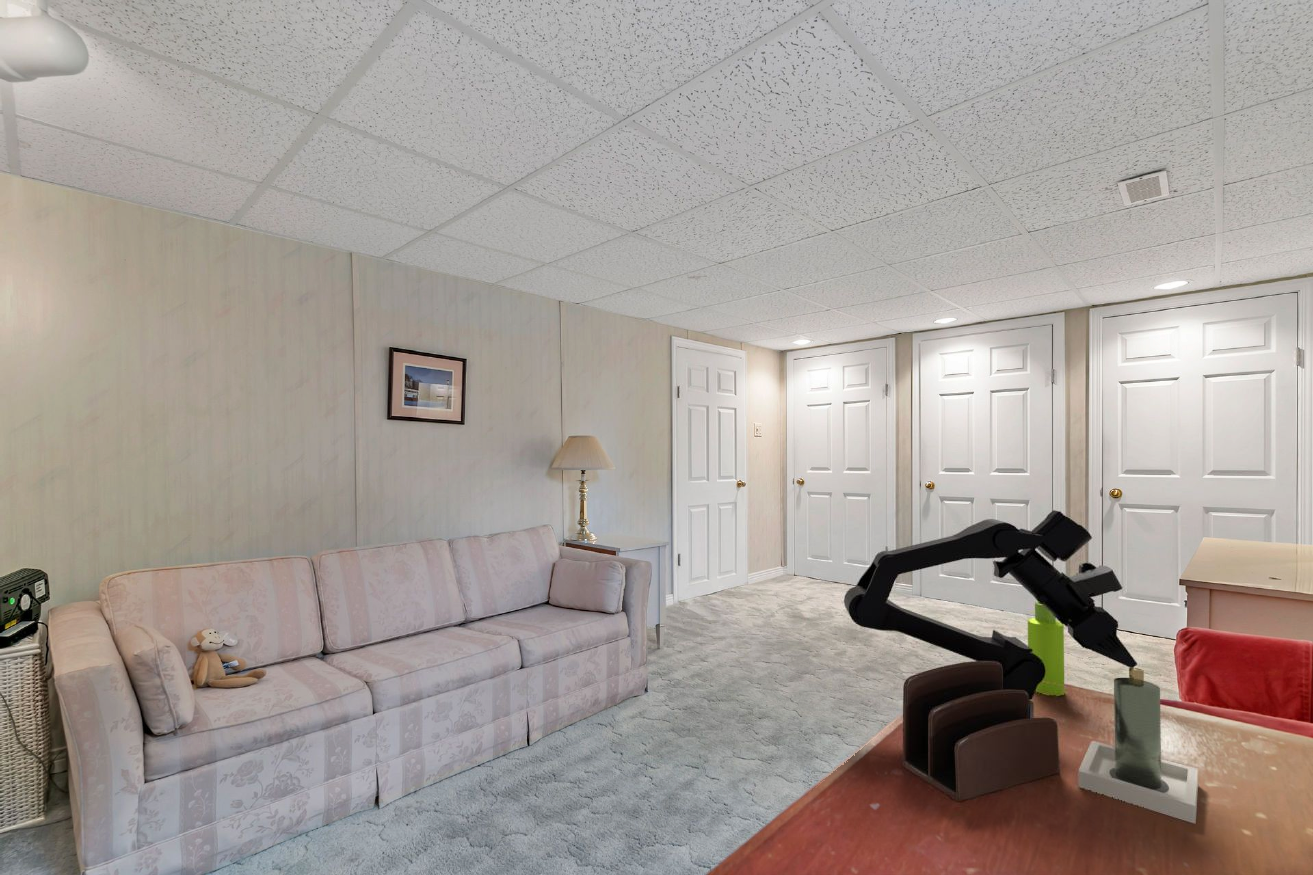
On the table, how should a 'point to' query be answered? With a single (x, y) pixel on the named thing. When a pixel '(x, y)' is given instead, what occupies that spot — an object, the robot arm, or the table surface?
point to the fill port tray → (1169, 799)
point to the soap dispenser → (1048, 648)
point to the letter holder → (974, 731)
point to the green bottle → (1137, 730)
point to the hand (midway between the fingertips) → (1124, 656)
